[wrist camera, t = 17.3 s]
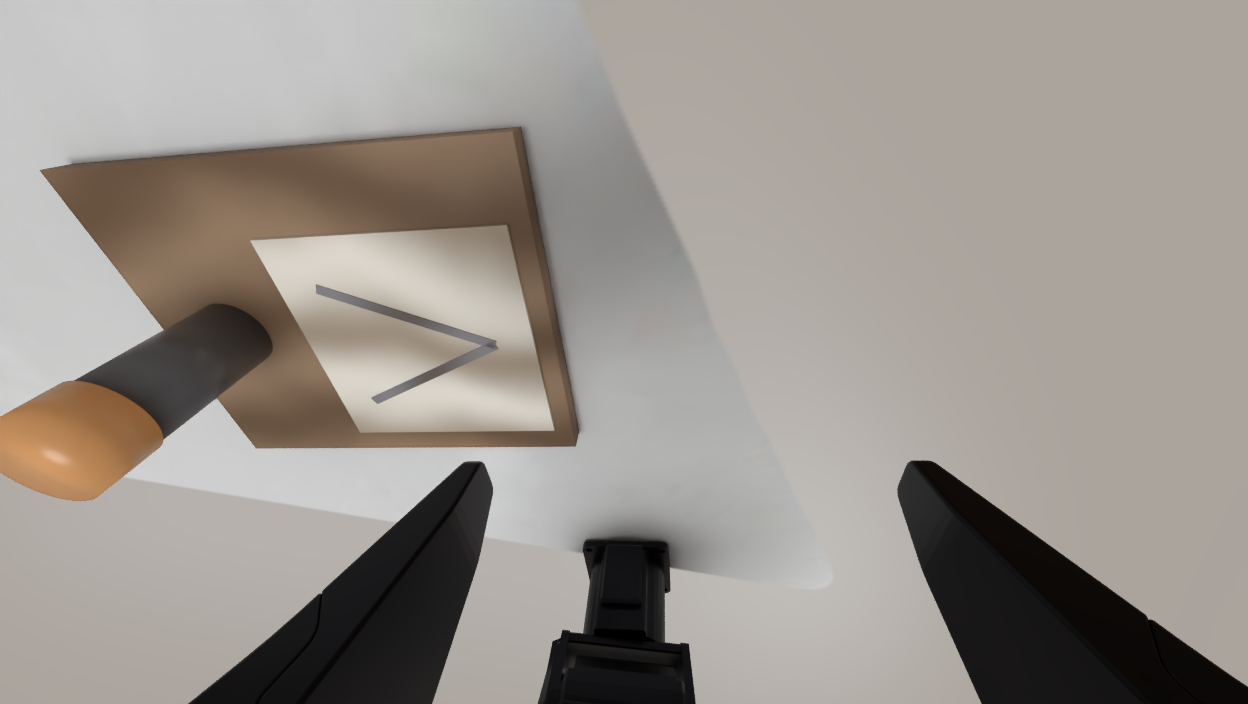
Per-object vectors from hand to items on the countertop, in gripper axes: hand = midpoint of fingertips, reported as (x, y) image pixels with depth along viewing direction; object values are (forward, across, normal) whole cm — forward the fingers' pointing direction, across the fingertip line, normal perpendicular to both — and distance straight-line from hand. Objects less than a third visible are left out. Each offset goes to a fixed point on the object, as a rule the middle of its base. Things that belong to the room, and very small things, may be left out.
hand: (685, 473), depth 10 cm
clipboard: (+13, +16, +3) cm, 21 cm away
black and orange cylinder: (+12, +23, +3) cm, 26 cm away
